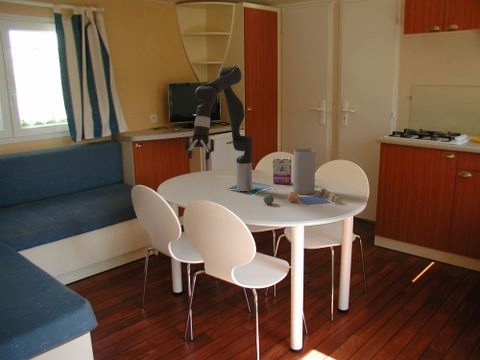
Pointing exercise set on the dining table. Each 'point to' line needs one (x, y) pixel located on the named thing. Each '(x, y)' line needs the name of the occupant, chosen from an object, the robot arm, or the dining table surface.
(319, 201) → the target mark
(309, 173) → the cylinder vase
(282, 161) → the candy bar box
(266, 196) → the grey ball
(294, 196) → the object ball
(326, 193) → the stopper
